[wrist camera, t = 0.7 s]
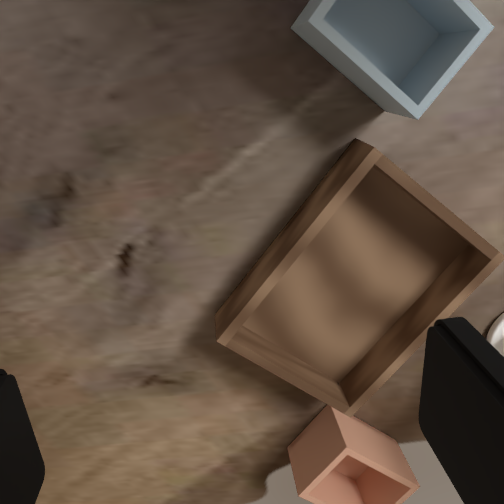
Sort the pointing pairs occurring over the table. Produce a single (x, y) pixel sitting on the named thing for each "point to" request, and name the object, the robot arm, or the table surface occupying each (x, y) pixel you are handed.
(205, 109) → the table surface
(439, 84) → the bluegrey crate
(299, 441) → the terracotta crate
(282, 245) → the walnut crate
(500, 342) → the candle
